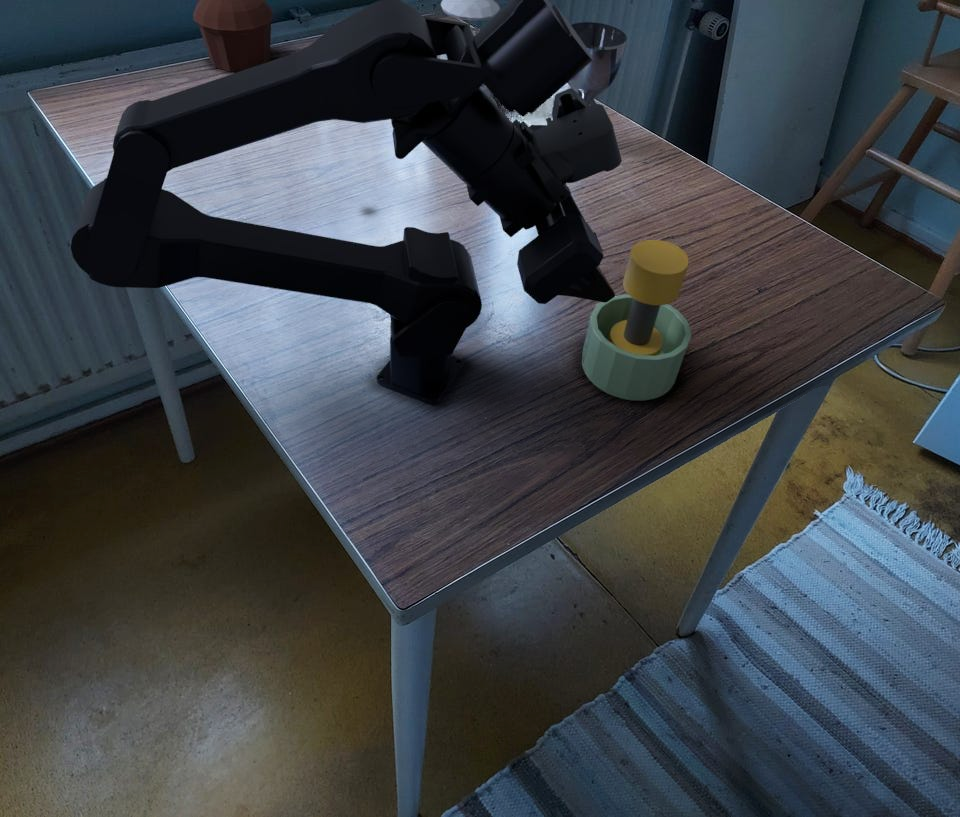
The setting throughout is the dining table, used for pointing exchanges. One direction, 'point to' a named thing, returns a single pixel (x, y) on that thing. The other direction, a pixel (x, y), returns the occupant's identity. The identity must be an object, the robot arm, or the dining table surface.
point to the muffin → (235, 32)
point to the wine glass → (598, 58)
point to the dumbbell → (649, 294)
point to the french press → (471, 17)
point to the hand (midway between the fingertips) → (598, 265)
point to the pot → (626, 369)
